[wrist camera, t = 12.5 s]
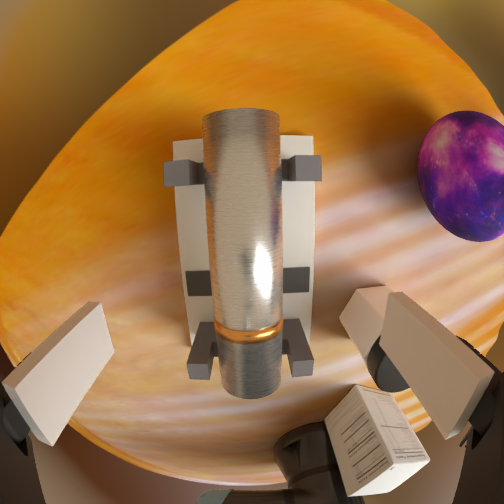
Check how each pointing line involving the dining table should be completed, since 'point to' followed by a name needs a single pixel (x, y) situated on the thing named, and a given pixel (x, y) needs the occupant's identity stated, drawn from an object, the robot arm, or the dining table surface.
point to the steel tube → (245, 246)
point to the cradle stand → (294, 250)
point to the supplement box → (373, 442)
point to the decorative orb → (464, 175)
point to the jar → (372, 335)
